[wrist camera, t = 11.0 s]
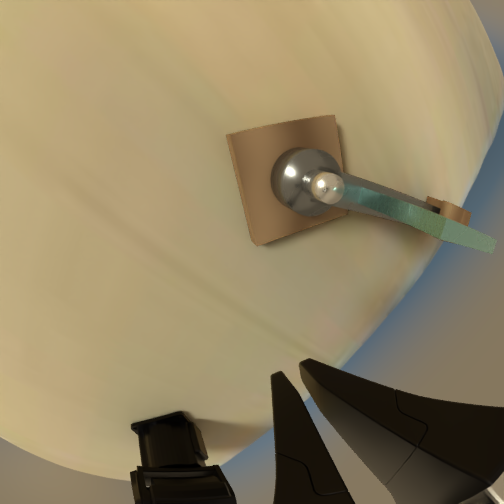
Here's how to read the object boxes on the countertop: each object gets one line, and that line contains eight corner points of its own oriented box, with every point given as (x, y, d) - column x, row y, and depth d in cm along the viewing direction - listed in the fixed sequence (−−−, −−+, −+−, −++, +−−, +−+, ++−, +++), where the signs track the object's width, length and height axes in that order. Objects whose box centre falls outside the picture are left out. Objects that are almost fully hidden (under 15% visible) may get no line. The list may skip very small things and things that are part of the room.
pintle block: (251, 240, 21) (257, 246, 20) (226, 134, 18) (230, 134, 17) (339, 210, 23) (347, 214, 22) (325, 115, 19) (334, 115, 18)
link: (263, 203, 19) (350, 259, 11) (278, 140, 18) (380, 151, 9) (422, 235, 26) (493, 273, 18) (434, 196, 25) (508, 226, 16)
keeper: (404, 223, 26) (442, 240, 22) (413, 190, 25) (452, 203, 21) (428, 229, 28) (461, 245, 24) (436, 199, 27) (471, 212, 23)
